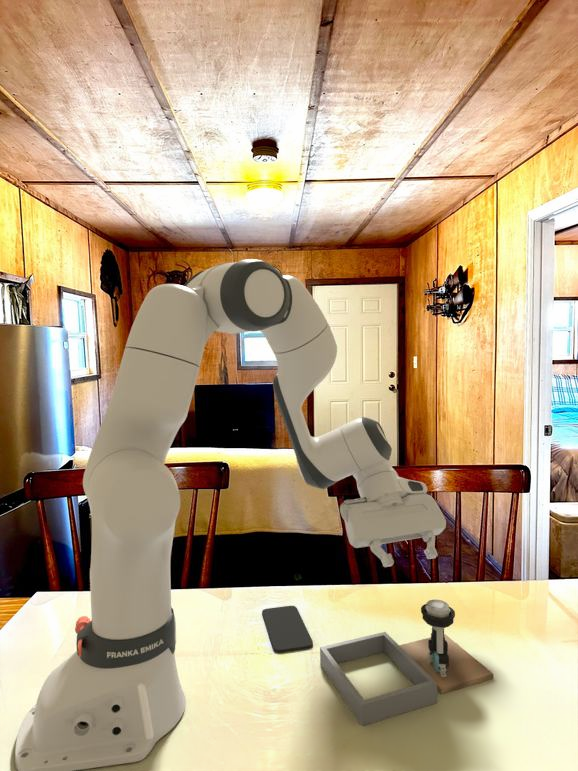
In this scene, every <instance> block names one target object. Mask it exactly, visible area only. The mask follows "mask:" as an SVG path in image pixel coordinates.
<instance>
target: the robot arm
mask: <svg viewBox="0 0 578 771" xmlns="http://www.w3.org/2000/svg"><path fill="white" fill-rule="evenodd" d="M259 331H260V332H261V333H262V335H263V336H264V337H265V339H266V342H267V343H268V345H269V347H270V349H271V351H272V352H273V354H274V356H275V358H276V364H277V373H276V374H275V375H274V377H273V378H272V387H273V393H274V396H275V400H276V403H277V406H278V409H279V412H280V416H281V418H282V420H283V423H284V426H285V429H286V431H287V432H286V433H287V434H288V437H289V441H290V443H291V445H292V449H293V452H294V455H295V456H296V457H295V459H296V463H297V468H298V471H299V474H300V476H301V477H302V479H303V481H304V482H305V483H306V485H308V486H311V487H313V488H317V489H320V490H326V489H327V488H329V487H331V486H333V485H334V484H336V483H338V482H339V481H341V480H344V479H345V478H347V477H350V476H353V478H354V479H355V481H356V487H357V491H358V494H359V497H360V498H355V499H354V498H353V499H346V500H343V502H342V503H341V504H340V506H339V512H340V515H341V517H342V519H343V520H344V525H345V531H346V536H347V538H348V542H349V544H350V545H351V547H353V548H355V549H359V548H366V547H369V548H370V551H371V552H372V553H373V554H374V555H375V556H376V557H377V558H378V559H379V560H380V561H381V563H382V567H384V568H387V567H392V566H393V565H394V563H395V560H394V558H393V556H392V554H391V553H387V552H385V550H384V549H383V548H382V545H383V544H390V543H398V542H403V541H409V540H414V539H415V540H416V539H420V538H421V539H422V540H423V542H425V543H426V545H427V546H426V549H424V551H423V553H424V555H425V556H426V559H427V560H431V559H436V558H437V557H438V551H437V549H436V548H435V545H436V544H435V543H436V536H438V535H440V534H441V533H442V532H443V531H444V530H445V529H446V525H447V521H446V518H445V516H444V514H443V512H442V510H441V509H440V507H439V505H438V503H437V502H436V500H435V499H434V498H433V497H432V496H431V495H430V494H428V493H427V492H428V486H427V485H426V484H425V483H424V482H422V481H417V480H414V479H413V480H412V479H407V478H404V477H401V476H399V474H398V472H397V471H396V470H395V468H393V466H392V461H391V455H392V450H393V449H392V446H391V445H390V443H389V442H388V440H387V438H386V435H385V431H384V429H383V427H382V425H381V424H380V423H379V422H378V421H376V420H374V419H372V418H370V417H365V416H361V417H358V418H356V419H353V420H351V421H348V422H346V423H345V424H342V425H340V426H339V427H336V428H334V429H332V430H330V431H328V432H326V433H324V434H323V433H322V434H321V435H319V436H312V435H311V433H310V430H309V428H308V425H307V422H306V419H305V416H304V413H303V410H302V407H303V404H304V402H305V401H306V400H307V398H308V397H309V395H311V393H312V392H313V391H314V390H315V388H316V387H318V386H319V385H320V383H321V382H323V381H324V380H325V378H327V376H328V375H329V373H330V372H331V371H332V369H333V367H334V364H335V361H336V358H337V353H338V346H337V343H336V339H335V336H334V333H333V331H332V330H331V327H330V324H329V323H328V321H327V318H326V317H325V315H324V313H323V311H322V309H321V308H320V306H319V304H318V302H316V300H315V299H314V297H313V296H312V294H311V293H310V292H309V289H308V288H306V286H305V285H304V284H303V282H301V280H300V279H299V278H297V277H294V276H292V275H283V274H282V273H281V272H280V271H279V270H278V269H277V268H276V267H275V266H273V265H272V264H271V263H268V262H266V261H263V260H259V259H253V258H251V259H249V258H248V259H241V260H239V261H236V262H227V263H226V262H225V263H220V264H217V265H214V266H212V267H210V268H207V269H205V270H201V271H200V272H197V273H196V274H194V275H193V276H191V277H190V278H189V279H188V280H187V281H186V282H185V283H184V284H183V285H181V284H176V283H165V284H164V283H162V284H160V285H159V284H158V285H156V286H154V287H153V288H151V289H150V290H149V291H148V292H147V294H146V296H145V298H144V300H143V301H142V303H141V305H140V307H139V310H138V311H137V314H136V316H135V319H134V321H133V323H132V326H131V327H130V331H129V334H128V337H127V341H126V344H125V348H124V349H123V355H122V357H121V361H120V365H119V368H118V371H117V375H116V379H115V382H114V386H113V390H112V393H111V397H110V400H109V403H108V405H107V409H106V410H105V414H104V416H103V419H102V421H101V423H100V427H99V429H98V431H97V434H96V437H95V440H94V442H93V445H92V448H91V450H90V454H89V456H88V460H87V463H86V466H85V470H84V472H83V477H82V488H83V491H84V494H85V496H86V499H87V502H88V506H89V511H90V514H91V515H90V516H91V549H90V550H91V551H90V552H91V554H90V568H89V583H90V584H89V586H90V587H89V590H90V609H91V610H90V611H91V613H90V614H91V618H89V617H88V616H87V615H82V616H80V617H78V618H77V620H76V621H75V628H74V632H75V634H76V644H75V645H76V651H75V652H74V653H72V654H71V655H70V656H69V657H67V659H65V660H64V661H63V662H62V663H60V664H59V665H58V666H57V667H56V668H54V669H53V670H52V671H51V672H50V674H49V675H48V676H47V677H46V679H45V681H44V683H43V684H42V686H41V688H40V691H39V694H38V697H37V699H36V702H35V704H34V705H33V706H32V707H31V708H30V710H28V712H27V714H26V715H25V716H24V718H23V721H22V723H21V724H20V727H19V729H18V733H17V736H16V740H15V741H16V742H15V748H14V762H15V764H14V765H15V767H16V770H17V771H79V770H87V769H94V768H101V767H109V766H114V765H115V766H116V765H122V764H123V765H124V764H130V763H136V762H141V761H142V760H144V759H145V758H146V757H147V756H148V755H149V754H150V753H151V751H152V749H153V748H154V746H155V745H156V743H157V742H158V741H159V740H160V739H161V738H162V737H164V736H165V735H166V734H167V733H169V732H170V731H171V730H172V729H173V728H175V726H176V725H177V724H178V723H179V720H180V719H181V718H182V717H183V714H184V711H185V709H186V704H187V703H186V696H185V693H184V691H183V690H184V689H183V688H182V685H181V681H180V678H179V673H178V667H177V662H176V656H175V651H176V644H177V625H176V617H175V613H174V608H173V607H172V592H171V591H172V588H171V586H172V585H171V558H172V557H171V556H172V547H173V540H174V536H175V527H176V520H177V518H178V517H179V516H178V515H179V512H180V508H181V496H180V490H179V487H178V483H177V481H176V479H175V477H174V474H173V473H172V471H171V470H170V469H169V468H168V466H167V465H165V463H166V459H167V455H168V453H169V451H170V449H171V446H172V444H173V442H174V440H175V438H176V436H177V434H178V432H179V430H180V428H181V427H182V425H183V424H184V422H185V421H186V419H187V417H188V413H189V410H190V406H191V402H192V398H193V395H194V392H195V391H194V390H195V387H196V383H197V379H198V376H199V373H200V369H201V368H200V367H201V364H202V360H203V357H204V356H203V355H204V351H205V347H206V345H207V343H208V342H209V340H210V339H211V336H212V335H213V334H214V333H224V334H230V335H232V334H242V333H243V334H244V333H248V332H259Z"/></svg>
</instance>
